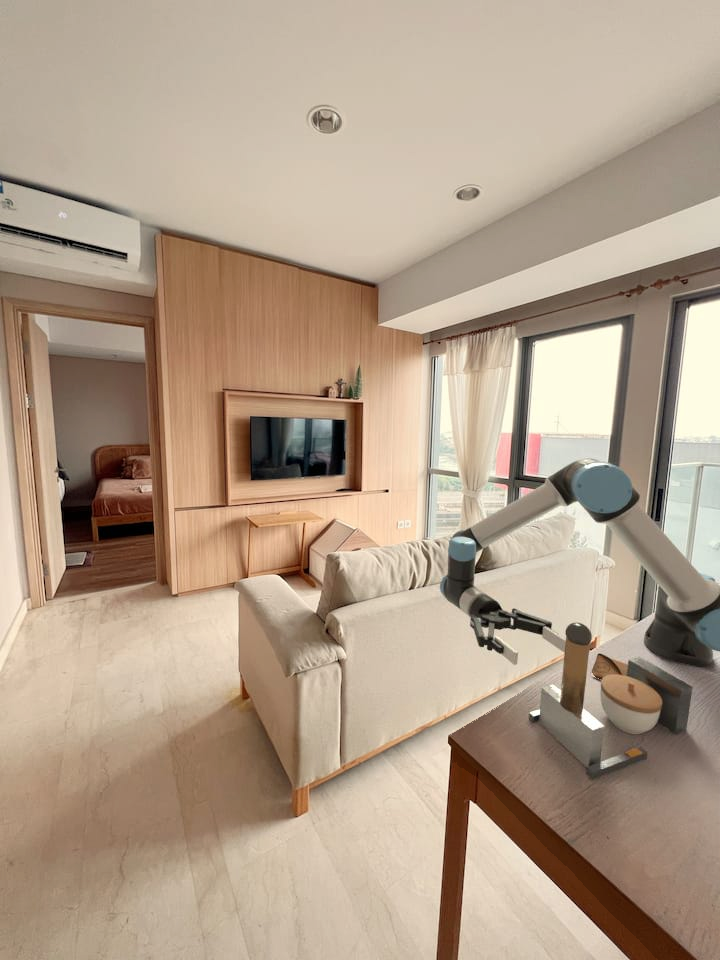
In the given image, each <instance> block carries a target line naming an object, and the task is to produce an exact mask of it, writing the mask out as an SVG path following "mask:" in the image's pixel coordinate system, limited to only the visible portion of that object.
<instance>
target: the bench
mask: <svg viewBox="0 0 720 960" xmlns="http://www.w3.org/2000/svg"><path fill="white" fill-rule="evenodd" d="M627 661H628V662H627V665H628V668H627V676H628V677H631V678H634V679H637V680H639V681H641V682H643V683H645V684H647V685H648V686H650V687H651V688H653V689H654V690H655V691H656V692H657V693H658V694H659V695H660V697H661V699H662V702H663V703H662V708H661V711H660V716H659V719H658V721H657V723H658V724H659V725H660V726H661V727H663V728H664V729H666V730H668V731H669V732H671V734H673V735H678V734H681V733H684V732H687V730H688V729H687V727H688V721H689V714H690V708H691V703H692V702H691V701H692V697H693V696H692V694H693V690H694V689H693V688H694V687H693V686H692V685H691V684H688V683H687V682H685V681H684V680H682V679H680V678H678V677H676V676H675V675H673V674H671V673H669V672H667V671H665V670H664V669H662V668H660V667H658V666H657V665H656V664H653V663H651V662H650V661H648V660H646V659H644V658H642V657H641V656H637V657H633V658H630V659H628V660H627ZM539 713H540V709H537V710H533V711H529V714H528V719H529V721H530V722H532V723H537V722H539ZM657 723H656V724H657ZM648 753H649V751H648V750H647V749H645V748H644V747H642V746H639V747H637V748H636V747H635V748H633V749H630V750H627V751H625V752H623V753H620V754H619V755H616V756H612V757H610V758H607V759H605V760H601V762H599V763H596V764H594V765H591V766H588V767H586V775H587V776H588V778H590V779H591V780H592V781H594V780H596V779H599V778H601V777H603V776H606V775H609V774H611V773H614V772H616V771H618V770H621V769H623V768H626V767H629V766H632V765H634V764H636V763H639V762H641V761H644V760H647V758H648Z"/></svg>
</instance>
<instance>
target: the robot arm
mask: <svg viewBox="0 0 720 960" xmlns="http://www.w3.org/2000/svg"><path fill="white" fill-rule="evenodd" d="M641 498H642V497H641V495H640V494H639V492H638V491H637V490H636V489H635V488H634V486H633V483H632V480H631V478H630V477H629V476H628V474H627V473H626V472H625V471H624V470H623V469H621V467H620V466H617V465H615V464H613V463H611V462H606V461H600V460H598V459H595V458H582V459H578V460H574V461H572V462H571V463H569V464H567V465H566V466H564V467H562V468H561V469H559V470H558V471H556V472H555V473H553V474H552V475H550V476H548V477H547V478H545V479H544V483H543V484H542V485H540V486H538V487H536V488H534V489H533V490H531V491H530V492H528V493H526V494H524V495H522V496H521V497H520V498H517V499H516V500H514V501H513V502H511V503H509V504H507V505H506V506H504V507H502V508H500V509H499V510H497V511H495V512H494V513H492V514H490V515H489V516H487V517H486V518H483V519H482V520H480V521H478V522H476V523H475V524H473V525H472V526H470V527H467V528H466V529H464V530H458V531H456V532H454V534H453V535H452V537H451V538H450V540H449V541H448V546H447V547H448V548H447V573H446V575H444V576H443V577H442V580H440V581H441V582H440V584H439V590H440V593H441V595H442V596H443V597H444V598H445V599H446V601H448V602H449V603H451V604H452V605H454V606H455V607H456V608H458V609H459V610H460V611H462V612H463V613H464V614H466V615H467V616H468V618H470V621H469V622H470V624H469V626H470V628H471V629H472V630H473V631H474V635H475V639H476V641H477V642H476V643H477V645H478V647H479V648H485V646H486V650H487V651H489V652H490V651H491V652H492V651H493V650H494V651H495V652H496V653H498V654H499V655H501V656H503V657H504V658H505V659H507V660H508V661H509V662H510V663H511V664H512V665H513V666H515V665H518V659H519V658H518V656H519V651H517V650H516V649H514V648H513V647H512V646H511V645H509V643H507V642H506V641H505V640H503V638H501V637H499V636H497V635H496V636H495V630H498V631H500V630H505V629H510V630H514V631H516V630H517V629H518V630H521V631H524V632H528V633H532V634H536V635H539V636H541V637H542V639H544V640H546V641H547V642H548V643H550V644H551V646H552V645H553V646H554V647H555V648H557V649H559V650H560V651H561V652H563V653H564V654H565V644H566V637H563V636H562V635H560V634H559V633H558V632H556V631H555V630H553V629H552V627H553V622H552V621H549V620H547V619H543V618H540V617H537V616H535V615H531V614H529V613H526V612H522V611H521V610H519V609H517V608H511V611H509V612H508V611H507V610H504V609H503V608H502V606H501V604H500V603H499V601H497V600H496V599H494V598H493V597H491V596H490V595H488V594H487V593H485V592H484V591H482V590H480V589H479V588H478V587H476V586H475V573H476V572H475V570H476V559H477V558H476V557H477V552H480V551H482V550H483V549H485V548H487V547H489V546H490V545H492V544H494V543H496V542H498V541H499V540H501V539H503V538H505V537H507V536H508V535H510V534H512V533H514V532H515V531H517V530H519V529H521V528H523V527H524V526H526V525H528V524H530V523H532V522H533V521H535V520H537V519H539V518H540V517H543V516H544V515H547V514H549V512H552V511H553V510H555V509H557V508H559V507H564V508H565V507H568V506H571V505H573V504H574V503H576V502H578V503H579V505H581V507H582V508H583V509H584V510H585V511H586V512H587V514H588V515H589V516H590V517H591V518H592V519H593V520H594V521H595V522H596V523H598V524H605V525H606V526H608V528H609V529H610V531H611V532H612V533H613V534H614V535H615V536H616V538H617V539H619V541H620V542H621V543H622V544H623V545H624V546H625V548H626V549H627V551H629V552H630V553H631V554H632V555H633V557H634V558H635V559H636V560H637V561H638V563H639V564H640V565H641V566H642V567H643V568H644V569H645V571H646V572H647V573H648V574H649V576H651V578H652V579H653V580H654V581H655V582H656V584H657V585H658V587H657V593H656V594H657V595H656V603H655V604H656V605H655V612H654V618H653V620H652V621H651V623H650V624H649V626H648V627H647V629H646V630H645V632H644V636H643V643H644V646H646V648H648V649H649V650H650V651H651V652H653V653H655V654H656V655H658V656H661V658H664V659H667V660H669V661H671V662H672V661H673V662H675V663H678V664H682V665H686V666H691V667H692V666H693V667H707V666H710V665H711V664H712V663H713V659H714V658H713V657H714V651H716V652H720V584H718V582H716V580H715V578H714V577H713V576H711V575H707V574H706V573H705V574H704V573H700V572H699V571H698V570H697V569H696V568H695V567H694V566H693V565H692V564H691V562H690V561H689V559H688V558H686V556H685V555H684V554H683V553H682V552H681V551H680V549H679V548H677V546H676V545H675V544H674V543H673V542H672V540H671V539H670V538H669V537H668V536H667V535H666V533H664V532H663V530H662V529H661V528H660V526H659V525H658V524H657V523H656V522H655V521H654V520H653V519H652V518H651V516H649V514H648V513H647V512H646V511H645V510H644V508H643V507H641V505H640V503H641ZM512 620H513V623H512ZM483 628H485V629H486V628H488V631H487V636H486V635H485V632H484V630H483Z"/></svg>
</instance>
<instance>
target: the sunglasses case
mask: <svg viewBox="0 0 720 960" xmlns="http://www.w3.org/2000/svg"><path fill="white" fill-rule="evenodd" d="M627 668H628V663H625V662H622V661H619V660H616V659H613V658H611V657H609V656H607V655H605V654H603V653H598V654H597V655H596V658H595V661H594V664H593V667H592V669H591V671H592V673H593V675H594V676H595V677H596V678H599V679H601V680H602V678H603V677H605V676H607V675H623V676H627Z"/></svg>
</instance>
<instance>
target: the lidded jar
mask: <svg viewBox="0 0 720 960" xmlns="http://www.w3.org/2000/svg"><path fill="white" fill-rule="evenodd" d="M600 703H601V707H602V709H603V711H604V714H605V715H606V716H607V717H608V719H609V720H610V722H611V724H613V726H615V727H616V728H617V729H619V730H620V731H622V732H624V733H628V734H631V735H641V734H643V733H646V732H649V731H650V730H652V729H654V727H655V726H656V725H657V721H658V719H659V716H660V711H661V708H662V703H663V702H662V699H661V697H660V695H659V694H658V693H657V692H656V691H655V690H654V689H653V688H651V687H650V686H648V685H647V684H645V683H643V682H641V681H639V680H637V679H634V678H631V677H628V676H623V675H607V676H605V677H603V678H602V680H601V681H600Z"/></svg>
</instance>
